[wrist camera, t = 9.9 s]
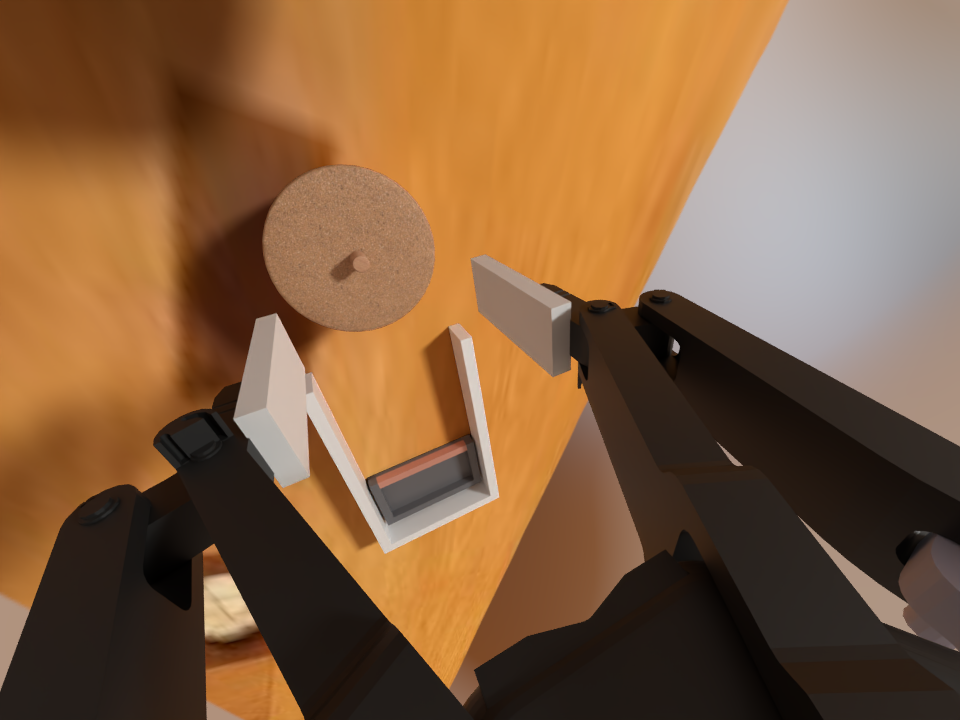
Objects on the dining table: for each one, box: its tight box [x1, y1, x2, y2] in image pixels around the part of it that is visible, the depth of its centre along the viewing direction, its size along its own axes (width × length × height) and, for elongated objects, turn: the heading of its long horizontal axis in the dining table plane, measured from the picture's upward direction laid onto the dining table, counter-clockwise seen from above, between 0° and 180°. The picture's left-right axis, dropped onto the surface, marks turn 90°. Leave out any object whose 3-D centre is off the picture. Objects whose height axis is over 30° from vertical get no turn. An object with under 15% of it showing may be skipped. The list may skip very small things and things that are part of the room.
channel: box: [305, 323, 499, 554], centre depth 41 cm, size 26×16×4 cm, turn 9°
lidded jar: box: [262, 164, 435, 332], centre depth 26 cm, size 11×11×9 cm
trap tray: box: [367, 435, 481, 526], centre depth 46 cm, size 8×13×2 cm, turn 99°
